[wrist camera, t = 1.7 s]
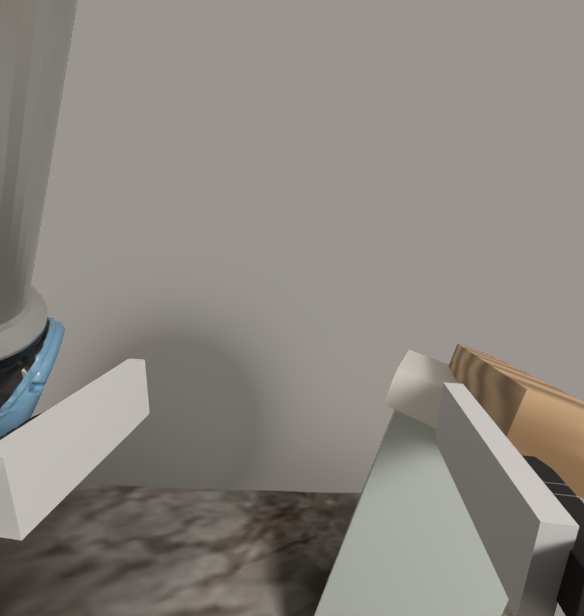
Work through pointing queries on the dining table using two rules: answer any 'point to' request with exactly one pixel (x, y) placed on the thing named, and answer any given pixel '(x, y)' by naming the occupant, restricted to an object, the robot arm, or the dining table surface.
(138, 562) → the dining table surface
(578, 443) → the oak slat
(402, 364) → the box
